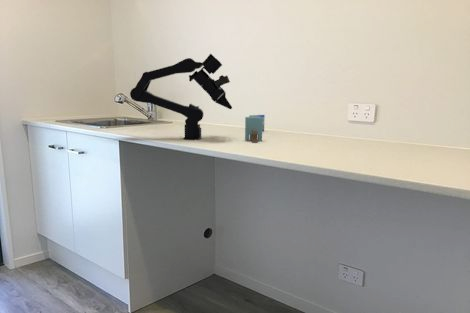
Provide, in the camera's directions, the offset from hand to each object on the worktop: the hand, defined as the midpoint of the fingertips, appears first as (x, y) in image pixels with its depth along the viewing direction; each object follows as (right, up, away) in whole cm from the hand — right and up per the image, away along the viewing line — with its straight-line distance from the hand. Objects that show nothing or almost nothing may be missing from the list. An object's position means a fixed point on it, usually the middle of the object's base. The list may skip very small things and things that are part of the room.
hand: (231, 107), depth 163 cm
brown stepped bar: (+10, -14, -2) cm, 17 cm away
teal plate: (+10, -14, -2) cm, 18 cm away
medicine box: (+13, -9, +28) cm, 32 cm away
